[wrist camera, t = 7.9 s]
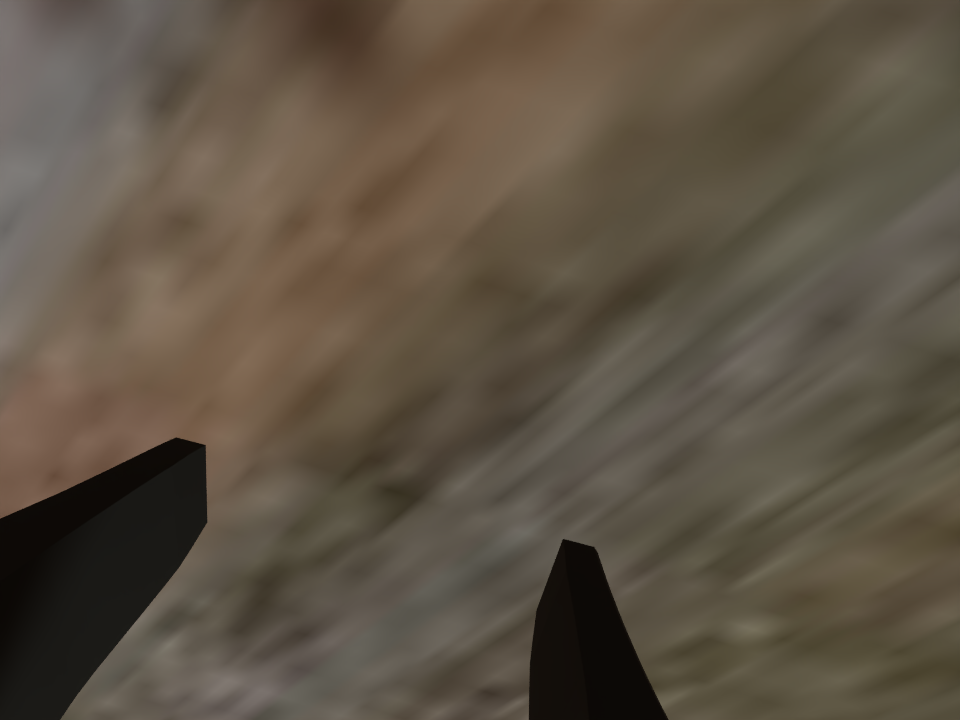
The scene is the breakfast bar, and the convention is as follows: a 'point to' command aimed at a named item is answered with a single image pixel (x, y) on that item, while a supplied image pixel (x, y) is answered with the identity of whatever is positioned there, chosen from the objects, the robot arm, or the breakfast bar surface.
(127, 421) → the breakfast bar surface
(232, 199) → the breakfast bar surface
